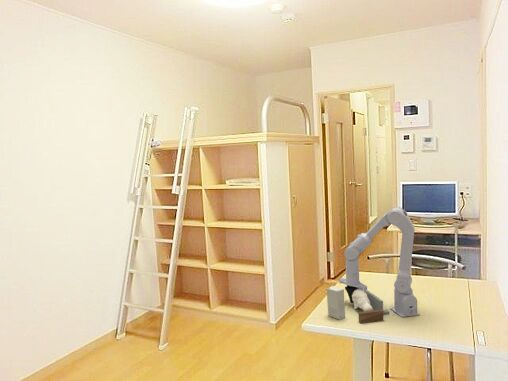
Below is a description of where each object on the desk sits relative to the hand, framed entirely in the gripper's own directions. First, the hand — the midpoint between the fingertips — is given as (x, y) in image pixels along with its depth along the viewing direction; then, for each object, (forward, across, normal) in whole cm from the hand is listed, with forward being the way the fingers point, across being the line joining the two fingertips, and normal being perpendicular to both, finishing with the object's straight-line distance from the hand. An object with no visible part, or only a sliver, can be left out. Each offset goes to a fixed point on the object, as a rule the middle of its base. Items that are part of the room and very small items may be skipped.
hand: (352, 302), depth 178 cm
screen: (+1, -6, -6) cm, 8 cm away
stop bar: (+1, -16, +8) cm, 18 cm away
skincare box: (+1, -4, +15) cm, 15 cm away
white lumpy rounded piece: (+1, -8, +2) cm, 8 cm away
